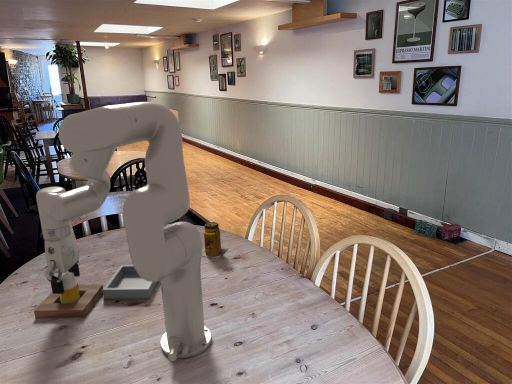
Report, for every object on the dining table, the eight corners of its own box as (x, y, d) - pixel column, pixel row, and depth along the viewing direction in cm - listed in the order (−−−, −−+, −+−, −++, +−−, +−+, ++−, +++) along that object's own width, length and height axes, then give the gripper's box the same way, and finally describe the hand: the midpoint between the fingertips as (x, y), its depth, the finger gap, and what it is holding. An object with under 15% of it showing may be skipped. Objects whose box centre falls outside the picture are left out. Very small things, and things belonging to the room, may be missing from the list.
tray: (149, 299, 118) (148, 289, 117) (103, 299, 119) (102, 289, 118) (162, 273, 134) (161, 264, 133) (122, 274, 134) (120, 265, 133)
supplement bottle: (58, 304, 117) (53, 275, 114) (76, 297, 120) (71, 269, 118) (66, 311, 113) (60, 281, 110) (84, 303, 117) (79, 274, 114)
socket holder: (84, 317, 110) (83, 309, 109) (35, 318, 110) (33, 310, 110) (103, 291, 123) (102, 284, 123) (60, 292, 124) (58, 285, 123)
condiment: (201, 256, 146) (198, 226, 142) (211, 247, 154) (209, 218, 150) (218, 258, 143) (216, 228, 140) (228, 249, 151) (226, 220, 148)
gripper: (55, 243, 102) (65, 300, 107) (84, 219, 118) (91, 270, 123) (26, 243, 102) (38, 300, 107) (59, 219, 118) (68, 270, 123)
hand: (66, 284), depth 115 cm, fingers open, 9 cm apart
